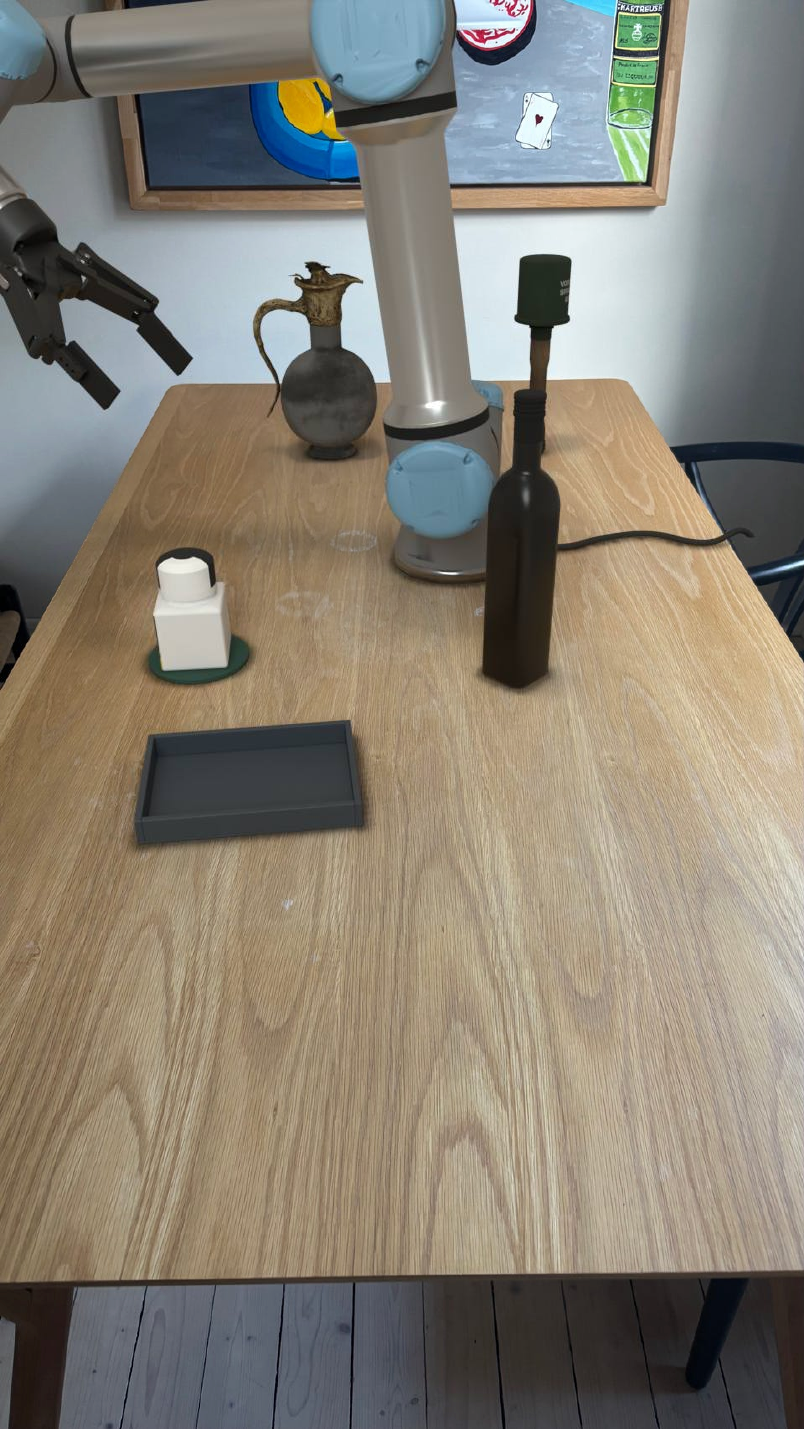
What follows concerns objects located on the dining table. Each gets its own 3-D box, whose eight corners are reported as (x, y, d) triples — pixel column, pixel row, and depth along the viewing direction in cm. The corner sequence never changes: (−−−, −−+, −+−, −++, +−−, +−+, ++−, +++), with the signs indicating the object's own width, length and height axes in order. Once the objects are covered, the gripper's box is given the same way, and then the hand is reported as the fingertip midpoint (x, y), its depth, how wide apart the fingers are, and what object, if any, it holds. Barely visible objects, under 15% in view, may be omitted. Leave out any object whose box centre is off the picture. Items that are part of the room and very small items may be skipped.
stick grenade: (558, 463, 166) (572, 263, 150) (504, 460, 168) (513, 262, 151) (561, 446, 173) (576, 253, 157) (510, 443, 175) (520, 252, 158)
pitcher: (381, 461, 168) (376, 264, 151) (264, 467, 166) (246, 268, 150) (375, 440, 177) (370, 252, 160) (264, 446, 175) (247, 256, 159)
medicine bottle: (168, 640, 116) (153, 542, 110) (231, 637, 117) (220, 539, 110) (161, 672, 110) (144, 570, 104) (228, 669, 111) (215, 567, 104)
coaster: (249, 632, 119) (249, 628, 119) (248, 680, 110) (248, 676, 110) (153, 638, 118) (152, 634, 118) (144, 687, 109) (143, 683, 109)
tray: (351, 740, 100) (350, 719, 99) (362, 825, 89) (361, 803, 88) (151, 755, 98) (148, 734, 97) (138, 844, 87) (133, 821, 86)
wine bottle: (511, 655, 114) (526, 380, 97) (552, 673, 110) (574, 392, 94) (477, 673, 110) (486, 392, 94) (517, 693, 107) (534, 405, 91)
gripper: (64, 232, 117) (195, 376, 120) (-100, 270, 98) (60, 441, 101) (94, 181, 112) (229, 332, 116) (-72, 210, 93) (95, 391, 96)
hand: (151, 383), depth 108 cm, fingers open, 13 cm apart
